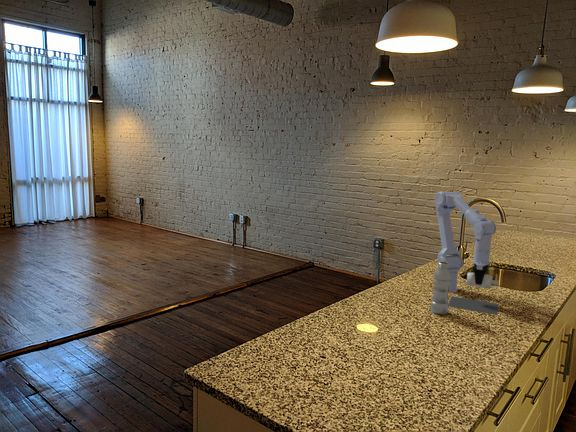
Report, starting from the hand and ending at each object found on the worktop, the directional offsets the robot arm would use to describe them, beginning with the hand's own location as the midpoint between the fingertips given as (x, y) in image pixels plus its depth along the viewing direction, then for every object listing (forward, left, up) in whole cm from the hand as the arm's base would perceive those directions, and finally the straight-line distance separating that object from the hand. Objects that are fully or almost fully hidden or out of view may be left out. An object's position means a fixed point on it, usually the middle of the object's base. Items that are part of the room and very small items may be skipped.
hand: (478, 282), depth 181 cm
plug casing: (+1, 0, -1) cm, 2 cm away
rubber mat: (-1, -4, -9) cm, 10 cm away
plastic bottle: (-12, -20, -9) cm, 25 cm away
